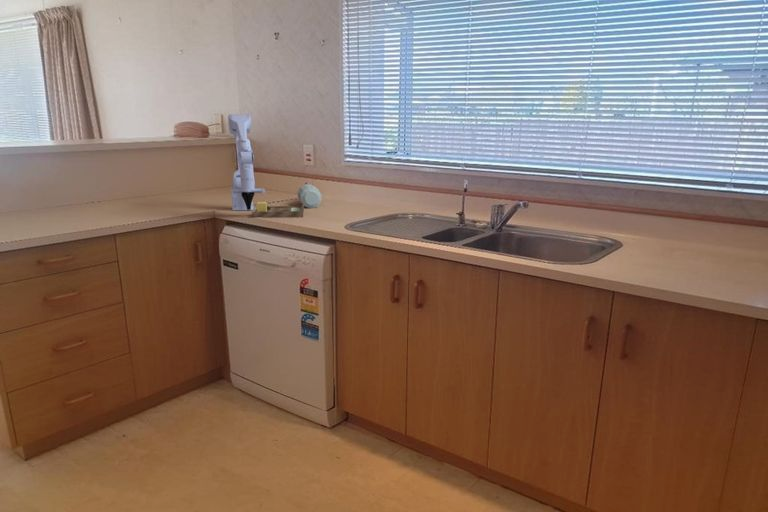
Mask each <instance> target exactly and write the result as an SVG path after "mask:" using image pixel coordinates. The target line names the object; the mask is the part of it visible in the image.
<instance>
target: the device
mask: <svg viewBox="0 0 768 512" xmlns="http://www.w3.org/2000/svg"><path fill="white" fill-rule="evenodd" d="M298 189H299V190H298V191H297V198H298V200H299V202H300V203H301V204H302V203H304V207H305V208H307V209H315V208H317V207H318V206H320V204H321V202H322V193H321V192H320V190H319V188H317V187H316V186H314V185H313V184H311V183H310V184H309V183H307V182H304V184H303V185H302V186H300V187H299V188H298Z"/></svg>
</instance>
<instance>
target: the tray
mask: <svg viewBox="0 0 768 512" xmlns="http://www.w3.org/2000/svg"><path fill="white" fill-rule="evenodd" d="M304 212H305V206H304V203H301V205H280V206H279V205H278V206H277V205H271V206H269V205H267V211H264V212H257V208H255V211H253V218H254V217H265V218H303V217H304Z"/></svg>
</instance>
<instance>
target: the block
mask: <svg viewBox="0 0 768 512" xmlns="http://www.w3.org/2000/svg"><path fill="white" fill-rule="evenodd" d="M267 206H268V205H267V201H257V202H256V209H257V212H264V211H267Z"/></svg>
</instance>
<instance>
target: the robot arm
mask: <svg viewBox="0 0 768 512" xmlns="http://www.w3.org/2000/svg"><path fill="white" fill-rule="evenodd" d="M227 119H228V120H227V123H228V131H229V133H230V134H232V135H233V137H234V139H235V147H236V148H235V149H236V159H237V162H236V163H237V170H235V171H234V172H233V173H232V187H233V188H230V194H231V203H232V204H231V206H232V211H253V210H254V209H255V208H256V207H255V206H254V203H253V199H254V197H255V194H265V193H266V191H265V188H263V187H262V188H261V187H260V188H257V187H256V183H255V181H256V180H255V175H254V165H255V164H254V163H255V155H254V151H253V149H252V146H251V141H250V139H249V138H248V134H250V133H251V126H252V118H251V115H250V113H249V114H248V113H247V114H237V113H236V114H230V113H229V114H228V116H227Z"/></svg>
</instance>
